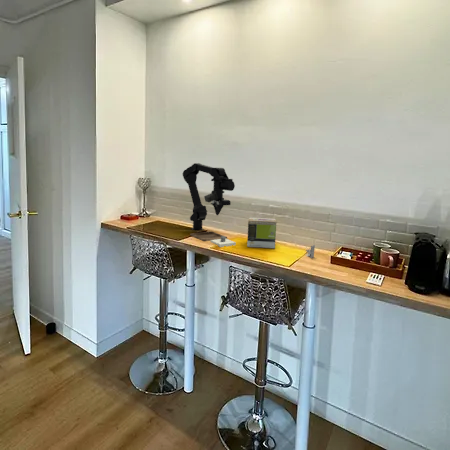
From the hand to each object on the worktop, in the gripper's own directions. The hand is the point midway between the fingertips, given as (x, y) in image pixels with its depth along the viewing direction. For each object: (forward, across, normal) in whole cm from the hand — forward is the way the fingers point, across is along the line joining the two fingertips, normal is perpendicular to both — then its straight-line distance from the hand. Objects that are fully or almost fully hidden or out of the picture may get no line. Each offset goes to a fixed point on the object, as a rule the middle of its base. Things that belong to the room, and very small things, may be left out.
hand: (217, 215), depth 209 cm
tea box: (+12, +32, +8) cm, 35 cm away
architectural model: (+13, +58, +11) cm, 61 cm away
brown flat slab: (+12, +5, -9) cm, 16 cm away
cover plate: (+13, +20, -9) cm, 25 cm away
